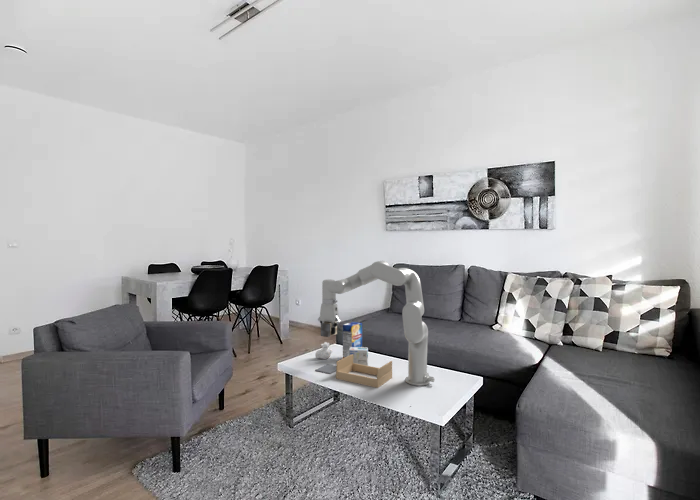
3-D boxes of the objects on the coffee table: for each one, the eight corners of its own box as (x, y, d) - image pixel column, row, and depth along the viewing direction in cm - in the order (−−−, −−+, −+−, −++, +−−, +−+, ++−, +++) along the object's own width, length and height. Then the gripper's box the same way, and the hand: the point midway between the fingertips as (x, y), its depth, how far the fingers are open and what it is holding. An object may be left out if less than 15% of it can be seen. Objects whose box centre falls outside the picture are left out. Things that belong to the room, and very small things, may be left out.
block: (336, 333, 227) (337, 321, 226) (328, 337, 219) (328, 324, 219) (329, 332, 229) (329, 320, 229) (320, 336, 222) (320, 323, 221)
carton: (392, 377, 211) (392, 361, 211) (378, 387, 197) (378, 369, 197) (352, 369, 224) (352, 354, 224) (336, 378, 210) (336, 361, 210)
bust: (316, 363, 242) (322, 351, 236) (311, 354, 246) (317, 342, 241) (332, 360, 249) (339, 348, 244) (326, 350, 254) (333, 338, 248)
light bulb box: (368, 365, 233) (368, 347, 232) (367, 369, 226) (367, 350, 226) (350, 364, 234) (350, 346, 233) (348, 368, 227) (348, 349, 227)
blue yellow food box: (342, 360, 241) (342, 324, 240) (353, 356, 250) (353, 321, 249) (351, 362, 237) (351, 326, 236) (362, 358, 246) (362, 323, 245)
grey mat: (341, 368, 227) (341, 366, 227) (330, 374, 217) (330, 372, 217) (327, 365, 232) (327, 364, 232) (315, 370, 222) (315, 369, 222)
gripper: (345, 301, 222) (345, 334, 223) (320, 299, 231) (320, 330, 232) (338, 303, 216) (338, 336, 217) (312, 301, 225) (312, 333, 225)
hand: (328, 333), depth 224 cm, fingers closed on block, 5 cm apart
